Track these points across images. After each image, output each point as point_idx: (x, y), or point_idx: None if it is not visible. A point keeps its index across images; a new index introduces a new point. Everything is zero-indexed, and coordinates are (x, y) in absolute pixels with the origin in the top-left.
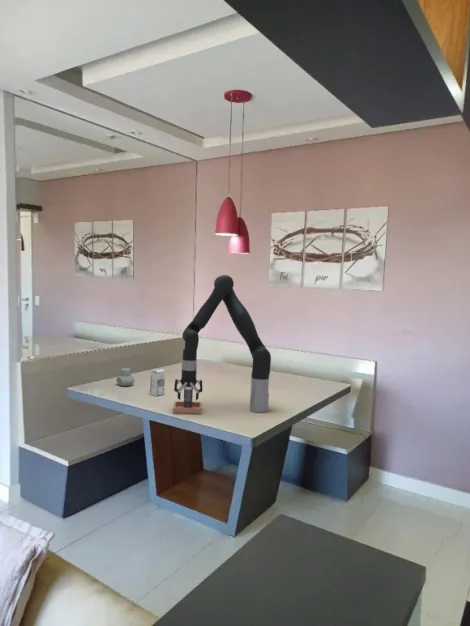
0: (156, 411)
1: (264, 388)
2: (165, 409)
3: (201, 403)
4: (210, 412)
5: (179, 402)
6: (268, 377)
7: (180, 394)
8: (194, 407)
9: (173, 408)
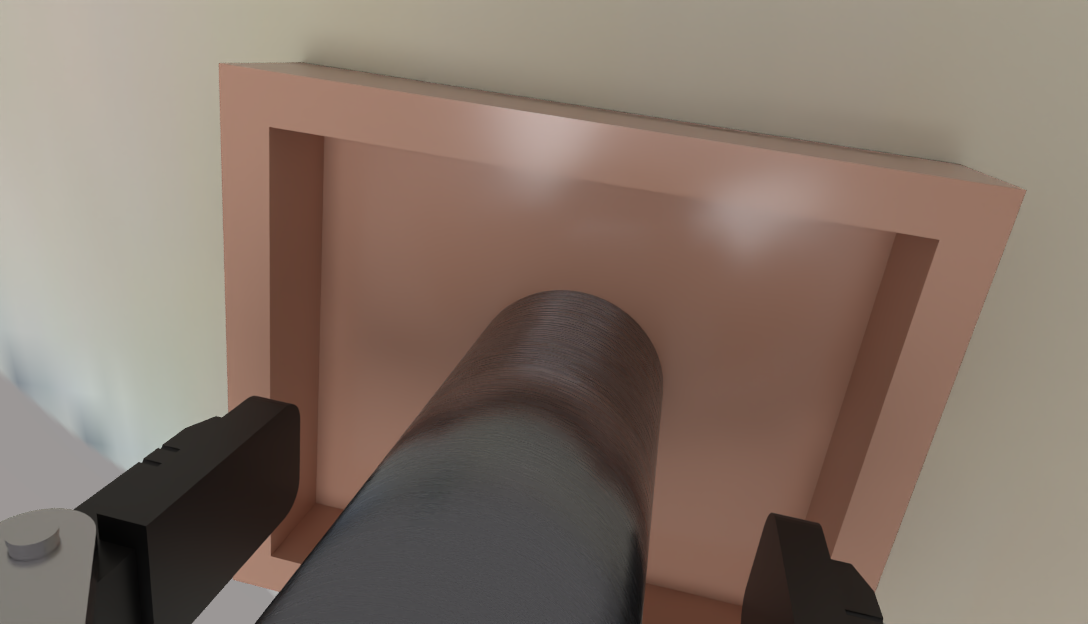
0: (20, 339)
1: None
2: (145, 237)
3: (964, 353)
4: (1053, 550)
5: (355, 137)
6: None
7: (204, 525)
8: (747, 280)
9: (243, 571)
